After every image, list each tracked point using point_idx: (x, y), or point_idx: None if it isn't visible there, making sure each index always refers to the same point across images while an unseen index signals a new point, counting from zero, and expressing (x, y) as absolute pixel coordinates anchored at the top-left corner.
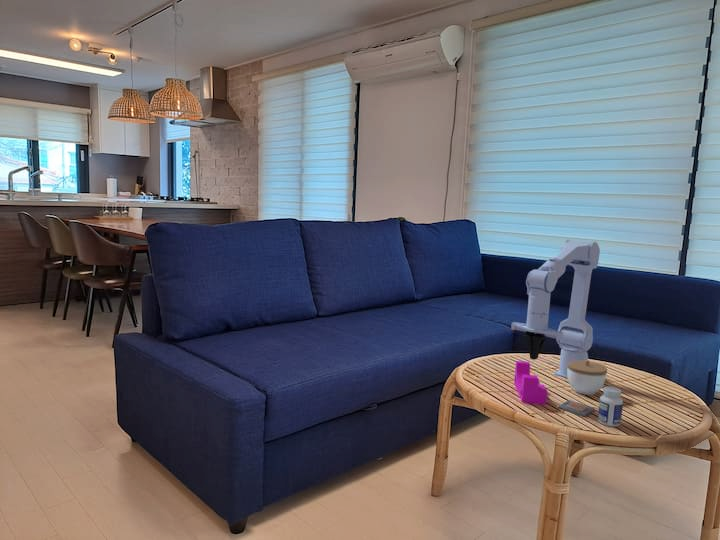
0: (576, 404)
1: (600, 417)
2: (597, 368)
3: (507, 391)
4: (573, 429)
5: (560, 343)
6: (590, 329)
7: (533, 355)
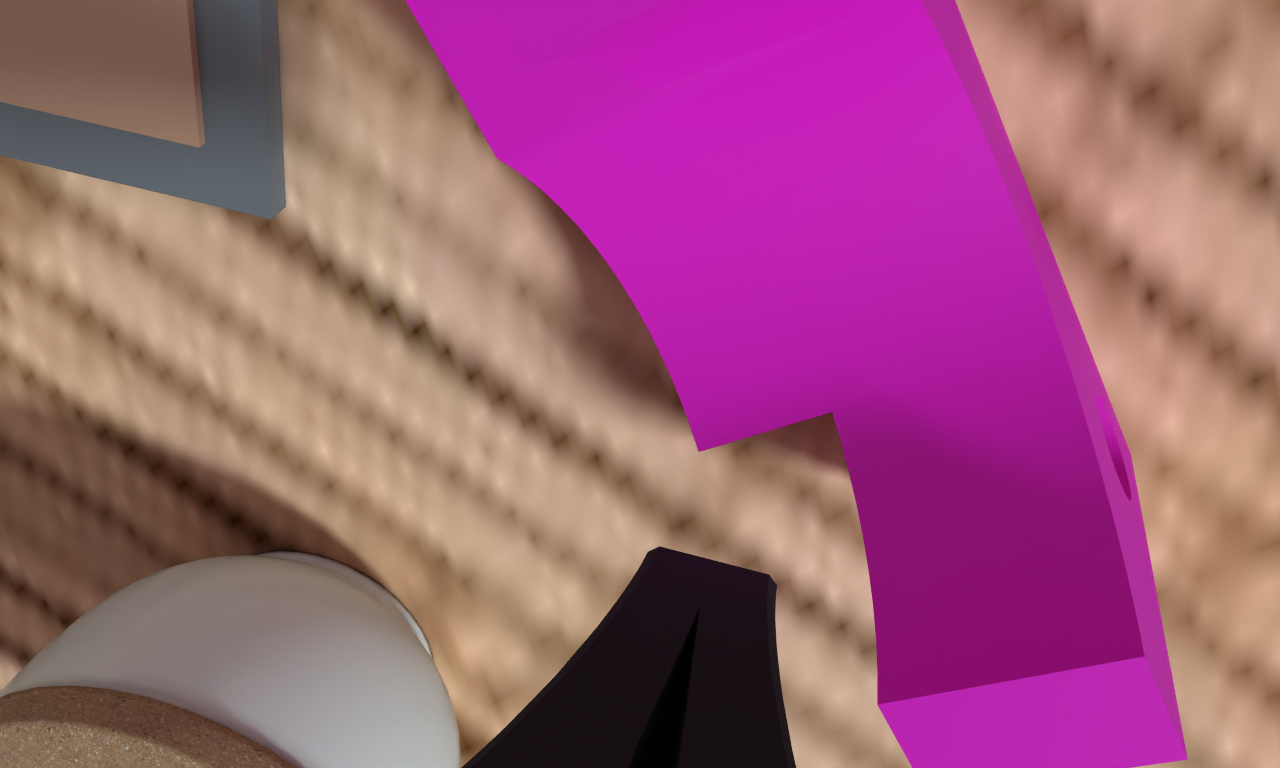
0: (116, 86)
1: None
2: None
3: (1183, 57)
4: None
5: None
6: None
7: (652, 610)
